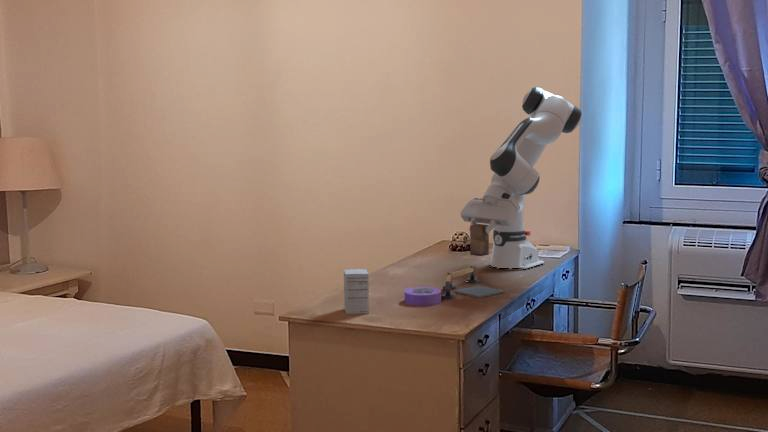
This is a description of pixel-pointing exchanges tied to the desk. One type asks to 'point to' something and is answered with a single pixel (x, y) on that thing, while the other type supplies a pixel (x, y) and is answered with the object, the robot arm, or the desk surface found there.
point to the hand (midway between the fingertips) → (478, 231)
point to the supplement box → (356, 291)
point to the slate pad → (478, 291)
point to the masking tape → (422, 296)
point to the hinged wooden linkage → (449, 286)
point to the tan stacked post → (479, 240)
